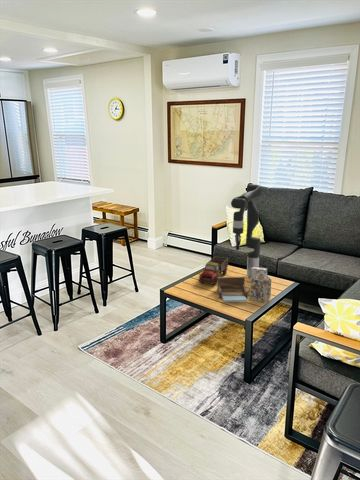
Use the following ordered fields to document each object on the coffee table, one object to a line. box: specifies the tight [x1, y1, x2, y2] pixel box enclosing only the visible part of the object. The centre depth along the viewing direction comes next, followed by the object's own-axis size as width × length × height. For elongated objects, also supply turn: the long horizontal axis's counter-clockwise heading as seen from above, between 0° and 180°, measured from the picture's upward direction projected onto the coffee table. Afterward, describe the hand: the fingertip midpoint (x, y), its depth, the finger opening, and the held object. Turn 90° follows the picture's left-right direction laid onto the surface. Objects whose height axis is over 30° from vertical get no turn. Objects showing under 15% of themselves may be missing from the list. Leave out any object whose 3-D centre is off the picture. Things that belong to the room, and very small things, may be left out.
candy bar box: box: [250, 266, 268, 281], centre depth 279 cm, size 11×5×16 cm, turn 62°
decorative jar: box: [249, 274, 272, 303], centre depth 262 cm, size 12×12×18 cm
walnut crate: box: [216, 276, 249, 300], centre depth 271 cm, size 16×20×10 cm
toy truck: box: [198, 255, 229, 286], centre depth 301 cm, size 14×35×15 cm, turn 152°
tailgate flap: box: [221, 296, 248, 303], centre depth 259 cm, size 1×16×10 cm
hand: (237, 249), depth 270 cm, fingers closed
